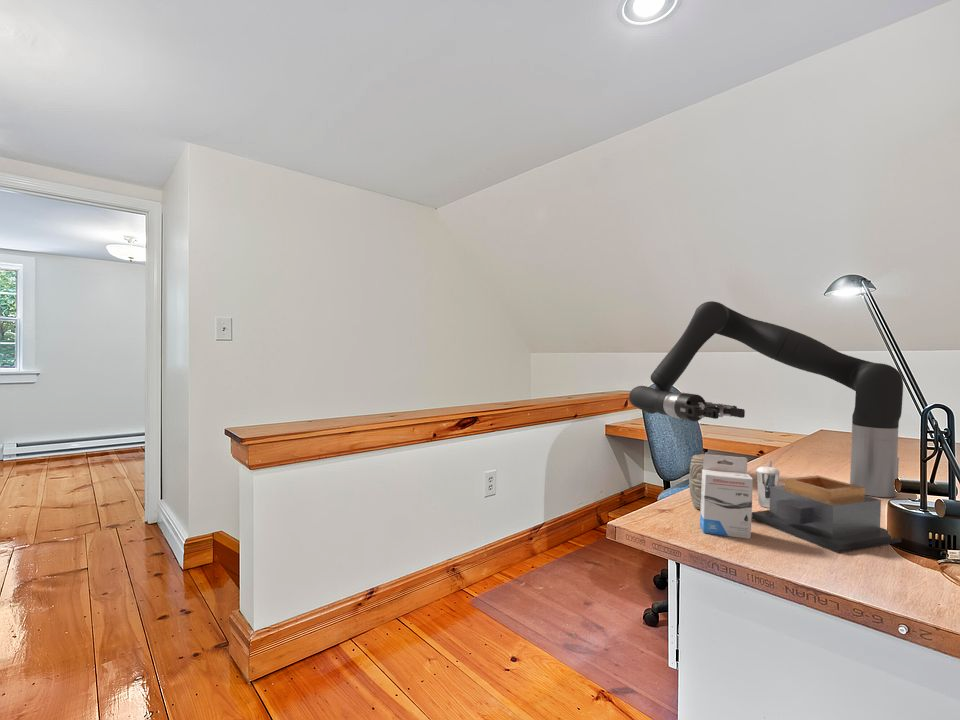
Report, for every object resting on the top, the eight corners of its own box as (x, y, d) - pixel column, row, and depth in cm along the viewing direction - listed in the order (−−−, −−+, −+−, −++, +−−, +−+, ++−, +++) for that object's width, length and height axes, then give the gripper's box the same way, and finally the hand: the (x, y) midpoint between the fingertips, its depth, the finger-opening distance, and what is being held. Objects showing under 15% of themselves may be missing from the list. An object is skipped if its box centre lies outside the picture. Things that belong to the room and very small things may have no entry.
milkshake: (781, 505, 113) (782, 462, 113) (775, 510, 109) (777, 466, 109) (759, 500, 116) (760, 459, 116) (753, 505, 112) (754, 462, 112)
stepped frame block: (809, 511, 109) (810, 469, 109) (901, 542, 92) (903, 492, 92) (748, 519, 103) (749, 475, 103) (834, 553, 86) (836, 500, 86)
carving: (695, 502, 114) (696, 451, 114) (729, 510, 109) (730, 457, 109) (683, 507, 110) (684, 455, 110) (717, 516, 105) (719, 461, 104)
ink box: (702, 533, 95) (705, 458, 94) (699, 525, 100) (701, 453, 99) (751, 539, 92) (754, 462, 92) (746, 530, 97) (748, 457, 97)
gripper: (664, 393, 136) (709, 399, 120) (704, 392, 140) (752, 398, 125) (663, 420, 136) (708, 429, 120) (703, 418, 141) (751, 427, 125)
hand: (730, 414), depth 123 cm, fingers open, 8 cm apart
